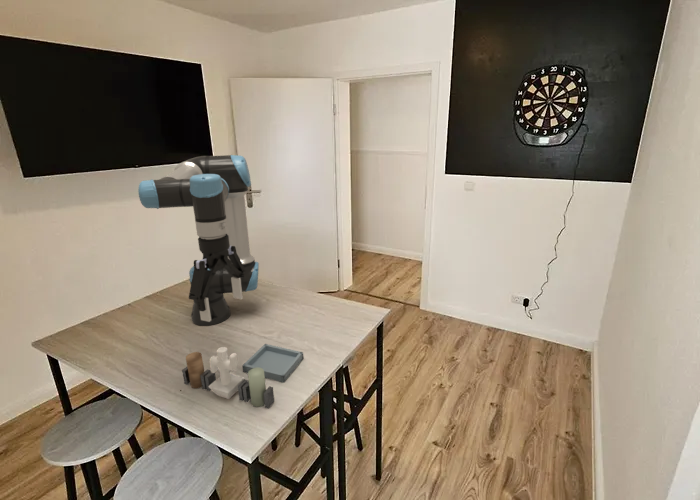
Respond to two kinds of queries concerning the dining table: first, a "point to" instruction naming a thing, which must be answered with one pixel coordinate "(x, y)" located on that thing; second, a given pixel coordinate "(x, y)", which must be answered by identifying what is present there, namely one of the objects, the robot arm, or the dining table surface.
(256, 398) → the green dowel
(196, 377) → the brown rounded cylinder
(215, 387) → the figurine
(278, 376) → the tray
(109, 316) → the dining table surface
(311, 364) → the dining table surface
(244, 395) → the clip posts
